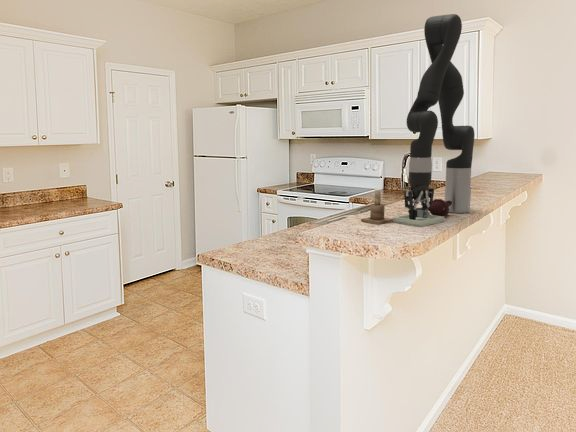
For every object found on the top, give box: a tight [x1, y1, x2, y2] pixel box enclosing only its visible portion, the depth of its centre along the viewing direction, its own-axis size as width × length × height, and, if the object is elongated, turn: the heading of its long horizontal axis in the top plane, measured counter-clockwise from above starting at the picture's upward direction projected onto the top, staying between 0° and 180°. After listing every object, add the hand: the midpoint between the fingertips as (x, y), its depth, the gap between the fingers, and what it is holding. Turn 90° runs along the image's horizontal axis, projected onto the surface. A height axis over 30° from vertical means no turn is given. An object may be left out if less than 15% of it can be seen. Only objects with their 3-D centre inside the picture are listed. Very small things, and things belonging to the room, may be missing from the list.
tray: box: [392, 213, 445, 228], centre depth 161 cm, size 14×12×2 cm
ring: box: [407, 207, 431, 218], centre depth 161 cm, size 8×6×2 cm
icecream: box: [428, 198, 452, 217], centre depth 171 cm, size 7×7×15 cm
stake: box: [360, 189, 394, 226], centre depth 162 cm, size 8×8×11 cm
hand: (418, 218), depth 161 cm, fingers closed on ring, 6 cm apart
